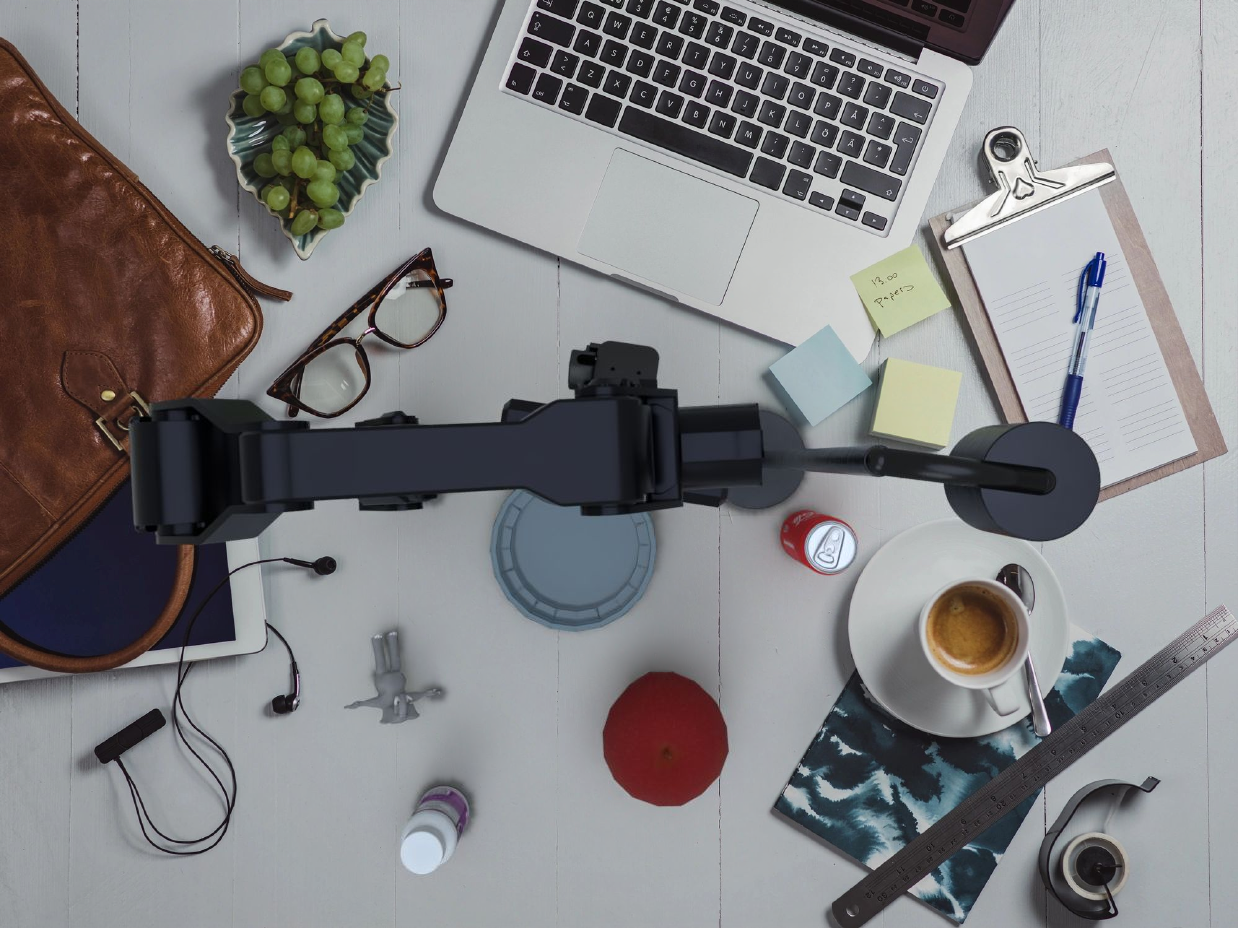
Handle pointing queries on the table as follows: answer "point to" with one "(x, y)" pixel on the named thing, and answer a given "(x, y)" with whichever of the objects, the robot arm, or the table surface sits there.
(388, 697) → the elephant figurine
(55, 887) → the table surface
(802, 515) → the beverage can
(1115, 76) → the table surface
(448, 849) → the pill bottle
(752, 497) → the desk lamp
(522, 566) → the bowl
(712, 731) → the apple
